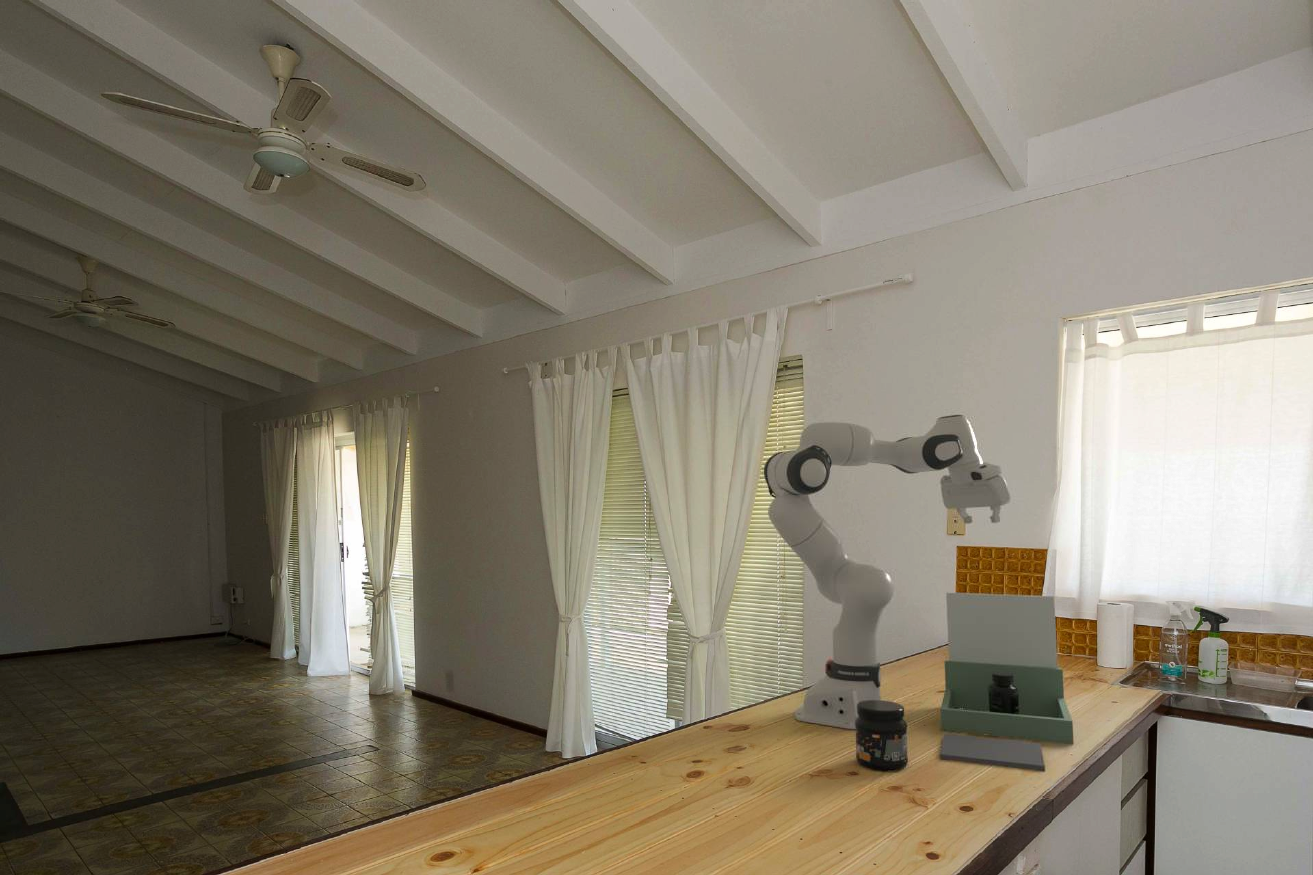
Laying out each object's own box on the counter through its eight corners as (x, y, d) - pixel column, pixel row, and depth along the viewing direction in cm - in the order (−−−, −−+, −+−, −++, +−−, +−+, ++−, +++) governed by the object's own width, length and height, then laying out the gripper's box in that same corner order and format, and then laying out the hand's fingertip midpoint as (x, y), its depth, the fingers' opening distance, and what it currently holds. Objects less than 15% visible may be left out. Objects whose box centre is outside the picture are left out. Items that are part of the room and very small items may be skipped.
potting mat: (940, 758, 165) (940, 753, 166) (944, 737, 180) (944, 733, 180) (1045, 770, 158) (1044, 765, 158) (1040, 748, 172) (1040, 743, 172)
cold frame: (941, 730, 186) (936, 603, 189) (946, 705, 209) (942, 592, 211) (1073, 743, 175) (1066, 608, 178) (1064, 716, 198) (1058, 596, 200)
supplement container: (849, 756, 167) (847, 699, 168) (897, 755, 168) (895, 698, 169) (865, 773, 157) (863, 712, 158) (916, 772, 158) (914, 711, 159)
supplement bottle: (1024, 727, 188) (1022, 676, 189) (996, 727, 188) (994, 676, 189) (1012, 719, 195) (1010, 670, 196) (985, 719, 195) (983, 670, 196)
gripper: (930, 479, 216) (945, 527, 216) (988, 473, 198) (1004, 525, 197) (947, 473, 219) (961, 520, 219) (1005, 466, 200) (1021, 518, 200)
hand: (982, 522), depth 208 cm, fingers open, 8 cm apart
